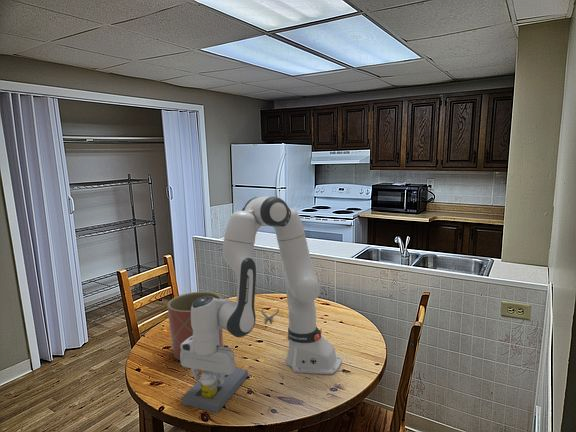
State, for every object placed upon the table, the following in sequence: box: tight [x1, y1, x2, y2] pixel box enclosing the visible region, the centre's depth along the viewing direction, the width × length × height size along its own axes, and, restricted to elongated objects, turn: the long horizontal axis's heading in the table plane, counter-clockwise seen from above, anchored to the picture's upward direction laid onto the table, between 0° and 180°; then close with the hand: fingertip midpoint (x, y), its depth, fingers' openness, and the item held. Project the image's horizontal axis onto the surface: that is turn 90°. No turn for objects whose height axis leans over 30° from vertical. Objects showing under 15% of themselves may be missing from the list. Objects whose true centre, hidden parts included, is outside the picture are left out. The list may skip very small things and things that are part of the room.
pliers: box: [261, 308, 280, 325], centre depth 195 cm, size 10×1×20 cm
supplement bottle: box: [200, 370, 218, 399], centre depth 127 cm, size 5×5×10 cm
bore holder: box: [181, 367, 249, 414], centre depth 132 cm, size 14×22×2 cm, turn 160°
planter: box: [166, 291, 224, 362], centre depth 158 cm, size 23×23×24 cm
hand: (209, 381), depth 127 cm, fingers open, 8 cm apart
